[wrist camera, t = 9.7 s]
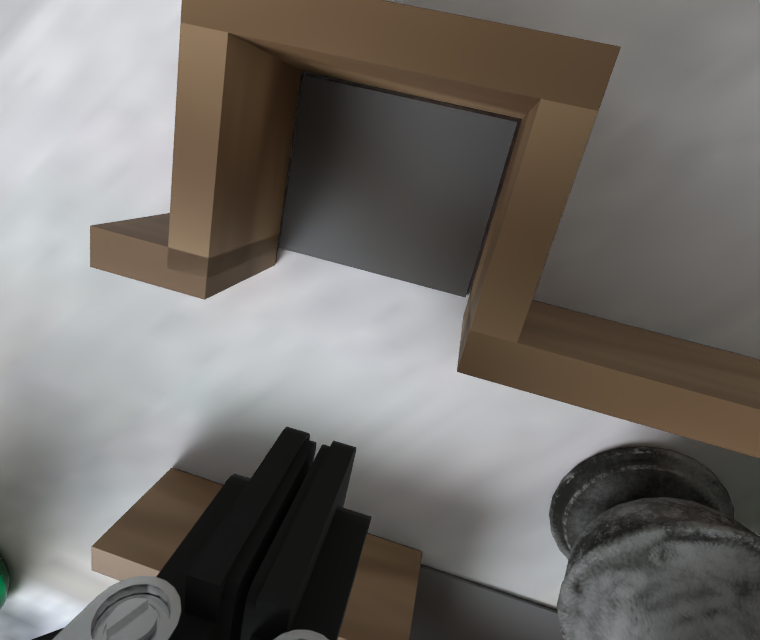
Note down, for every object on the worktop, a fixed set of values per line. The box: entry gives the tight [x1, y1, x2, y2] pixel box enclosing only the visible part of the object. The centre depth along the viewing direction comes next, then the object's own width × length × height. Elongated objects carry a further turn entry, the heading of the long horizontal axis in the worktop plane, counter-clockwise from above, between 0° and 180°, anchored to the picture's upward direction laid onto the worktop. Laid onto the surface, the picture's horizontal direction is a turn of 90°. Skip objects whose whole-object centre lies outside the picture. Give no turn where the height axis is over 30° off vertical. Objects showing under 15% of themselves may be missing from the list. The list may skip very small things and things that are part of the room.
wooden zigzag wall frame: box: [90, 0, 760, 640], centre depth 13 cm, size 22×21×4 cm
